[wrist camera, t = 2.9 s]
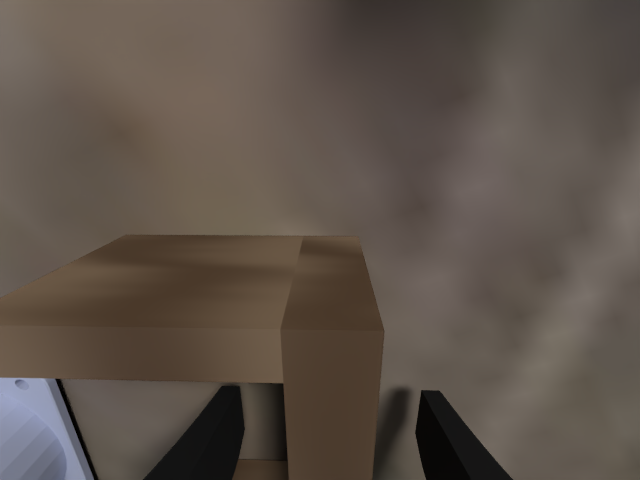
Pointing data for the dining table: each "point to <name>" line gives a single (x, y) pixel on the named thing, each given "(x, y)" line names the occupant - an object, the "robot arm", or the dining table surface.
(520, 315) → the dining table surface
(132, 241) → the wooden c-shaped bracket
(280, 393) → the dining table surface
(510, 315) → the dining table surface
